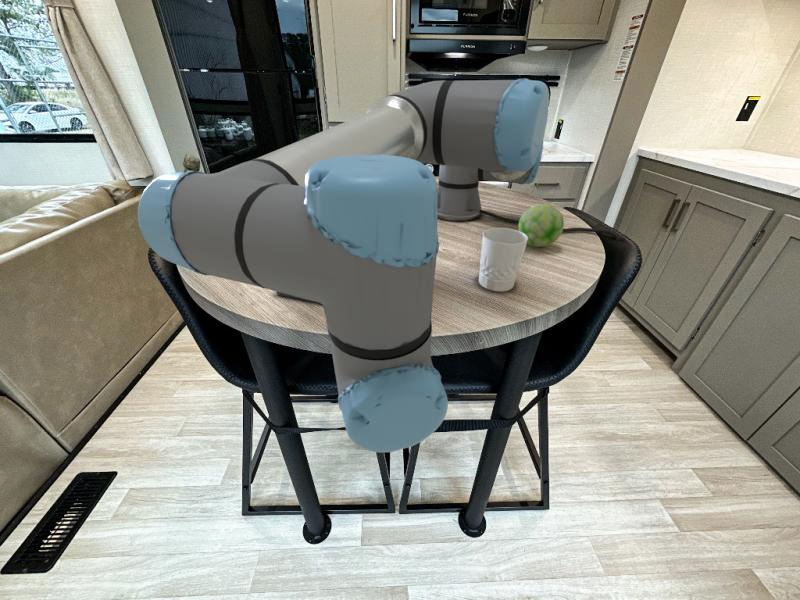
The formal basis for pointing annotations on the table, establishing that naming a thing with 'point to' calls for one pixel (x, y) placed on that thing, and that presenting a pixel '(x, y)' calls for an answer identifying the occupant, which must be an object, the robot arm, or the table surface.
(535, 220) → the decorative ball
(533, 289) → the table surface
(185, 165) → the plant with pod
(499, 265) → the white cup
